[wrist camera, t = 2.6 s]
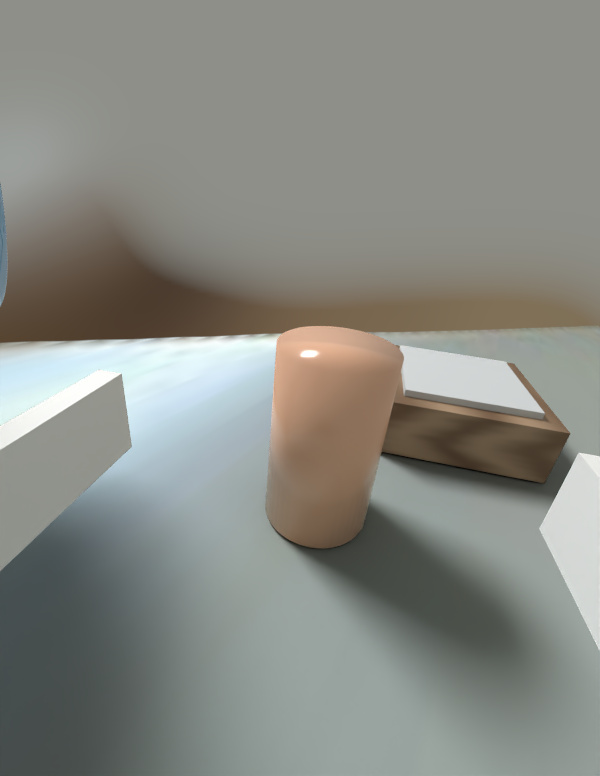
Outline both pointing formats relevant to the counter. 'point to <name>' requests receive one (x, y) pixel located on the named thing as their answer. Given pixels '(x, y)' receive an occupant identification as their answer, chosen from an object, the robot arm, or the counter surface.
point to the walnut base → (472, 416)
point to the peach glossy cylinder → (328, 431)
